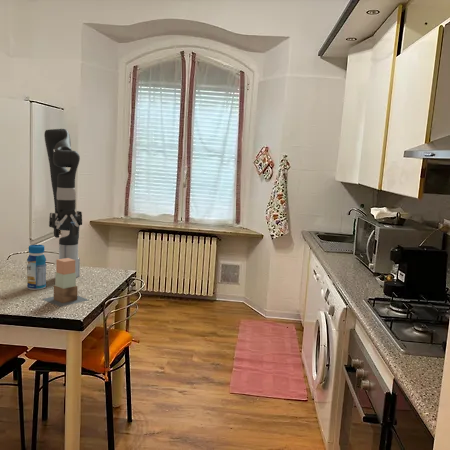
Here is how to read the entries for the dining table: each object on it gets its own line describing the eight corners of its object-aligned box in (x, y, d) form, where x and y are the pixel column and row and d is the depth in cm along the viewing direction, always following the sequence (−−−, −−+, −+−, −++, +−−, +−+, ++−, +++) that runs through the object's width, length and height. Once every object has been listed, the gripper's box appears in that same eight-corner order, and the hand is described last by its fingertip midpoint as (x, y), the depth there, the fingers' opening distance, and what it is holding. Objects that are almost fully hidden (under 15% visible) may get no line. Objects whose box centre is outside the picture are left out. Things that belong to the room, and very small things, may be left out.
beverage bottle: (45, 290, 213) (45, 247, 210) (25, 290, 210) (25, 247, 208) (47, 285, 221) (47, 244, 218) (28, 285, 218) (27, 244, 216)
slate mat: (70, 293, 209) (70, 292, 209) (89, 300, 201) (89, 299, 201) (41, 300, 198) (41, 299, 198) (60, 307, 190) (60, 306, 190)
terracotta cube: (67, 270, 202) (67, 257, 201) (75, 272, 198) (75, 260, 198) (56, 272, 198) (56, 259, 197) (63, 274, 194) (63, 261, 193)
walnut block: (68, 296, 204) (68, 282, 204) (77, 299, 200) (77, 286, 199) (53, 299, 199) (53, 285, 198) (62, 303, 195) (63, 289, 194)
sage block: (67, 283, 203) (67, 270, 202) (75, 286, 199) (75, 272, 198) (55, 285, 198) (55, 272, 197) (63, 288, 195) (63, 274, 194)
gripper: (75, 197, 202) (75, 233, 204) (45, 198, 190) (45, 236, 193) (86, 198, 197) (85, 236, 199) (55, 199, 186) (55, 239, 188)
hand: (66, 236), depth 196 cm, fingers open, 8 cm apart
